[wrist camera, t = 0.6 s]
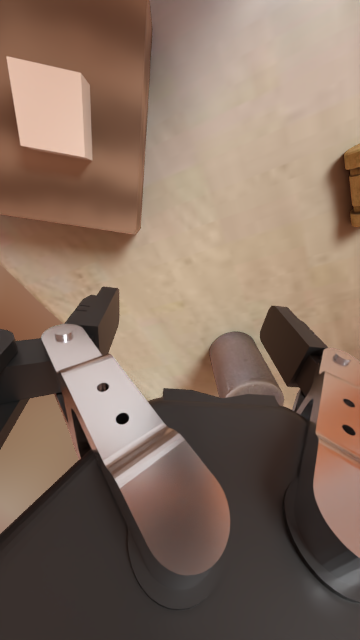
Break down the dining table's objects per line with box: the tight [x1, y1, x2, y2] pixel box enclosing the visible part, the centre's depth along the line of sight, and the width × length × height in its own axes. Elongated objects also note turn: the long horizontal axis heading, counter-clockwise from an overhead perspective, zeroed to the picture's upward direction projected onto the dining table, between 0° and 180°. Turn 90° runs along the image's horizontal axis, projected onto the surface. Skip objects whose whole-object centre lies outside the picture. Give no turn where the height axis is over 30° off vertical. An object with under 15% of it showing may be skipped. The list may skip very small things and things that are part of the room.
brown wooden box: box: [0, 0, 152, 235], centre depth 25 cm, size 20×18×6 cm
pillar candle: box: [210, 332, 284, 406], centre depth 39 cm, size 10×10×15 cm
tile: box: [6, 56, 93, 161], centre depth 21 cm, size 6×6×2 cm
